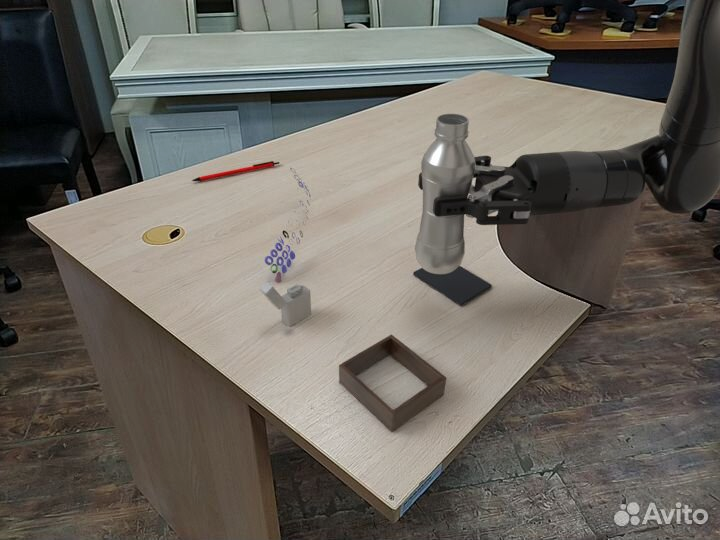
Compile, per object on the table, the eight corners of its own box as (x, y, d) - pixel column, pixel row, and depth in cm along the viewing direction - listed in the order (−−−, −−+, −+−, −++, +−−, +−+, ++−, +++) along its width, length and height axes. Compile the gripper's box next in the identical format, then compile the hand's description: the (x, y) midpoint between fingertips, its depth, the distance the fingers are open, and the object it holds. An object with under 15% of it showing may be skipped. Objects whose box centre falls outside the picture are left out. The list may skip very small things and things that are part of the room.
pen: (280, 165, 115) (279, 160, 114) (192, 183, 108) (191, 178, 107) (278, 163, 116) (278, 159, 115) (191, 181, 108) (190, 176, 108)
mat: (491, 287, 81) (492, 284, 80) (461, 306, 77) (461, 303, 77) (443, 258, 87) (443, 255, 87) (413, 274, 83) (413, 271, 83)
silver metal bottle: (460, 252, 73) (479, 109, 61) (464, 282, 67) (485, 131, 55) (414, 250, 73) (423, 108, 61) (413, 279, 68) (423, 129, 56)
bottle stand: (444, 394, 64) (446, 377, 62) (391, 432, 59) (392, 415, 57) (390, 350, 70) (391, 334, 68) (339, 382, 65) (338, 365, 63)
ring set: (318, 297, 82) (288, 243, 74) (254, 301, 86) (219, 251, 78) (352, 195, 98) (330, 142, 91) (296, 202, 102) (271, 153, 95)
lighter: (304, 308, 76) (301, 263, 72) (312, 314, 75) (309, 268, 71) (263, 330, 73) (257, 284, 68) (271, 337, 71) (265, 290, 67)
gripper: (537, 132, 69) (413, 140, 67) (595, 181, 58) (447, 193, 55) (526, 184, 74) (409, 193, 71) (578, 239, 62) (441, 252, 60)
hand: (426, 193), depth 63 cm, fingers closed on silver metal bottle, 6 cm apart
